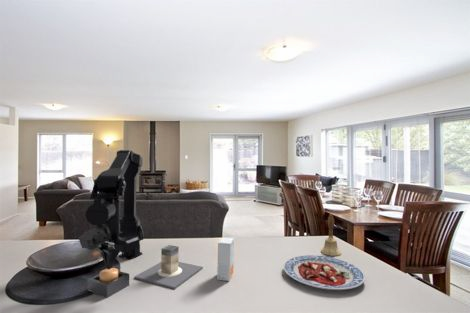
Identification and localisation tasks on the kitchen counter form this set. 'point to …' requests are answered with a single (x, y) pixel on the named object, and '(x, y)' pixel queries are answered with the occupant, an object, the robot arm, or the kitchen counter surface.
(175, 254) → the spice jar
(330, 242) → the hand bell
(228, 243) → the skincare box
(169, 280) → the mat
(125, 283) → the button box
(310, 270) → the ceramic plate
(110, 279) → the button
